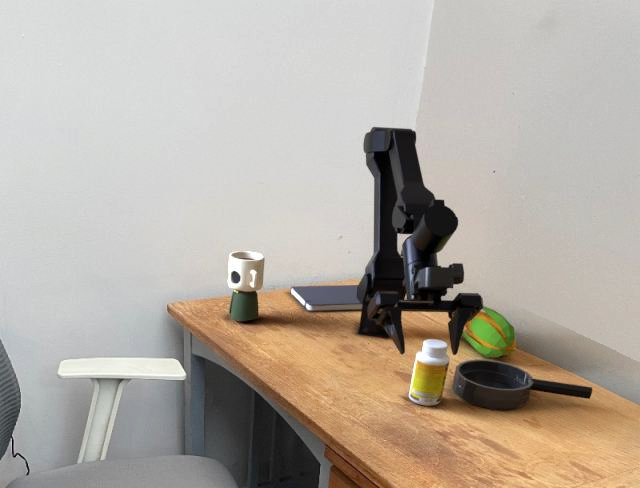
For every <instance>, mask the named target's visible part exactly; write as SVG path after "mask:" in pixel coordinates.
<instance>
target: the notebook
mask: <svg viewBox="0 0 640 488" xmlns="http://www.w3.org/2000/svg"><path fill="white" fill-rule="evenodd" d="M358 285H359V284H339V285H338V284H337V285H336V284H335V285H302V286H296V285H295V286H290V290H289V291H290V292H289V294H290V295H292V296H293V298H294V299H295V300H296V301H297V302H298V303H299V304H300V305H301V306H302V307H303V308H304V309H305V310H306V311H308V312H338V311H339V312H340V311H362V304H361V303H360V302H359V300H358V299H357V286H358Z"/></svg>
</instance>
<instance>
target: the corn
mask: <svg viewBox="0 0 640 488" xmlns="http://www.w3.org/2000/svg"><path fill="white" fill-rule="evenodd" d="M482 310H483V311H482ZM482 310H481V311H480V312H479V313H478V314H477V315H476V316H475V317H474V318H473V319H472V320H471V321H468V322H467V323H466V324H465V326H464V328H466V330H467V331H468V333H469V334H470V335H468V334H467V333H466V332H465V331H463V333H462V337H463V338H464V339H465V340H466V341H467V342H468V343H469V344H470V345H471V346H472V347H473V348H474V349H475V350H476V351H477V352H478V353H479V354H481V355H482V356H484V357H486V358H500V359H502V358H506V357H508V356H510V355H512V354H513V353H514V352H515V349H516V347H517V341H516V339H517V338H516V332H515V327H514V326H513V325H512V324H511V322H509V321H508V319H506V317H505V316H504V315H502V314H501V313H499V312H498V311H496V310H495V309H492V308H490V307H487V306H484V305H483V308H482Z"/></svg>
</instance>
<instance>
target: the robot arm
mask: <svg viewBox="0 0 640 488" xmlns="http://www.w3.org/2000/svg"><path fill="white" fill-rule="evenodd" d="M416 143H417V132H416V131H415V130H413V129H412V128H404V127H403V128H402V127H383V126H373V127H371V129H370V131H368V132H366V133H365V134H364V138H363V144H362V146H363V153H364V154H365V165H366V167H367V169H368V171H369V172H370V174H371V176H372V177H373V251H372V252H373V253H372V256H371V257H370V259H369V261H368V263H367V264H366V266H365V268H364V274H363V276H362V277H361V279H360V281H359V282H358V284H357V285H358V286H357V299H358V300H359V302H360V303H361V304H362V310H361V312H360V320H359V326H358V329H357V332H356V333H357V334H359V335H365V336H366V335H367V336H373V337H379V338H390V339H391V340H392V342H393V344H394V345H395V347H396V349H397V350H398V352H399V354H400V355H404V354H405V353H406V343H405V342H406V341H405V335H404V329H403V323H402V316H403V315H402V313H403V312H408V313H409V312H411V313H412V312H413V313H415V312H416V313H425V312H426V313H447V315H448V316H447V317H448V319H450V320H449V321H448V322H447V327H448V336H449V342H450V343H449V344H450V349H451V353H452V355H453V356H456V355H457V354H458V352H459V348H460V344H461V340H462V337H463V335H462V333H463V332H464V329H465V324H466V323H467V322H468V321H471V320H472V319H473V318H474V317H475V316H476V315H477V314H478V313H479V312H480V311H482V310H483V309H482V308H483V306H484V299H483V297H482V295H481V294H479V293H478V292H458V293H457V294H456V296H455V297H454V298H453V300H449V299H448V300H445V299H442V297H446V295H447V294H448V289H454V285H461V284H463V283H464V281H465V269H464V268H465V267H464V263H462V262H460V263H459V262H454V263H452V264H449V265H448V267H447V266H442V265H439V261H438V253H440V252H441V251H442V250H443V249H444V247H446V245H447V243H448V242H449V240H450V239H452V236H453V235H454V233H455V232H456V231H457V229H458V226H459V218H458V217H457V214H456V213H455V212H454V210H452V209H451V208H450V207H449V206H447V205H445V200H444V199H436V197H435V194H434V193H433V192H432V191H431V190H430V189H429V188H428V187H426V186H425V183H424V178H423V174H422V168H421V165H420V161H419V155H418V150H417V146H416V145H417V144H416ZM399 235H409V236H408V237H407V238H406V239H405V240H404V241H403V242H402V244H401V251H400V253H399V250H398V240H399V239H398V238H399V237H398V236H399Z"/></svg>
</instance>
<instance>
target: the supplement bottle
mask: <svg viewBox="0 0 640 488" xmlns="http://www.w3.org/2000/svg"><path fill="white" fill-rule="evenodd" d="M448 346H449V345H448V343H447V342H446V341H444V340H441V339H436V338H435V339H434V338H427V339H424V340H423V345H422V347H421V350H419V351H417V352H416V354H415V359H414V364H413V370H412V375H411V379H410V386H409V392H408V399H410V400H411V401H412V402H413V403H415V404H418V405H420V406H426V407H428V406H429V407H430V406H436V405H438V404H440V403H441V401H442V398H443V393H444V389H445V384H446V380H447V375H448V370H449V365H450V356H449V355H448V354H447V352H448Z"/></svg>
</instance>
